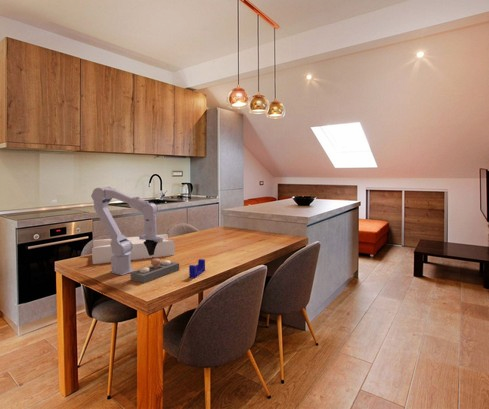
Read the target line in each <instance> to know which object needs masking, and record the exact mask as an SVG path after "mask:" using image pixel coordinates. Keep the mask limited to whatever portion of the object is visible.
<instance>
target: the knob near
mask: <svg viewBox="0 0 489 409" xmlns="http://www.w3.org/2000/svg"><path fill="white" fill-rule="evenodd" d="M148 267H149V266H145V267H143V266H142V267H140V268H139V270H140V273H143V274H145V273H148V272H149V268H148Z"/></svg>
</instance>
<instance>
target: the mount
mask: <svg viewBox="0 0 489 409" xmlns="http://www.w3.org/2000/svg"><path fill="white" fill-rule="evenodd" d="M147 267H148V268H149V272H148V273H145V274H143V273H140V269H136V270H135V271H133V272H130V273H129V274H130V276H129V277H130V281H133V282H134V281H135V282H138V283H141V284H145V283H148V282H150V281H151V282H152V281H153V280H156V279H159V278H162V277H164V276H167V275H169V274H173V273H176V272H178V271H180V263H179V262H174V261H171V265H168V266H163V265H162V261H160V264H159V265H158V269H157V270H154V269H153V265H150V266H147Z"/></svg>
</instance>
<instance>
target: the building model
mask: <svg viewBox="0 0 489 409" xmlns="http://www.w3.org/2000/svg"><path fill="white" fill-rule="evenodd" d="M157 236H158V237H160V238H163V242H160V243H159V242H158V243H157V245H156V248H155V251H154V255H151V256H150V255H149V254H148V251H147V248H146V246H145V244H144V241H146V240H143V239H139V236H129V237H127V236H126V237H127V239H128V240H129V241H131V243H132V245H133V248H132V250H131V251H130V258H131V261H134V260H135V261H136V260H143V258H144V259H151V258H152V257H154V258H160V257H162V256H163V257H172V256H175V255H176V251H175V248H176V247H175V244H176V243H175V240H169V234H168V233H166V234H157ZM92 241H93V242H92V243H93V247H92V248H91V255H92V256H91V258H92V264H93V265H98V264H105V263H107V264H108V263H111V258H112V256H113V255H114V254H113V253H112V247H111V245H110V243H111V238H106V239H105V238H104V239H93V240H92ZM171 255H172V256H171ZM163 257H162V258H163ZM152 259H153V258H152Z"/></svg>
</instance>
